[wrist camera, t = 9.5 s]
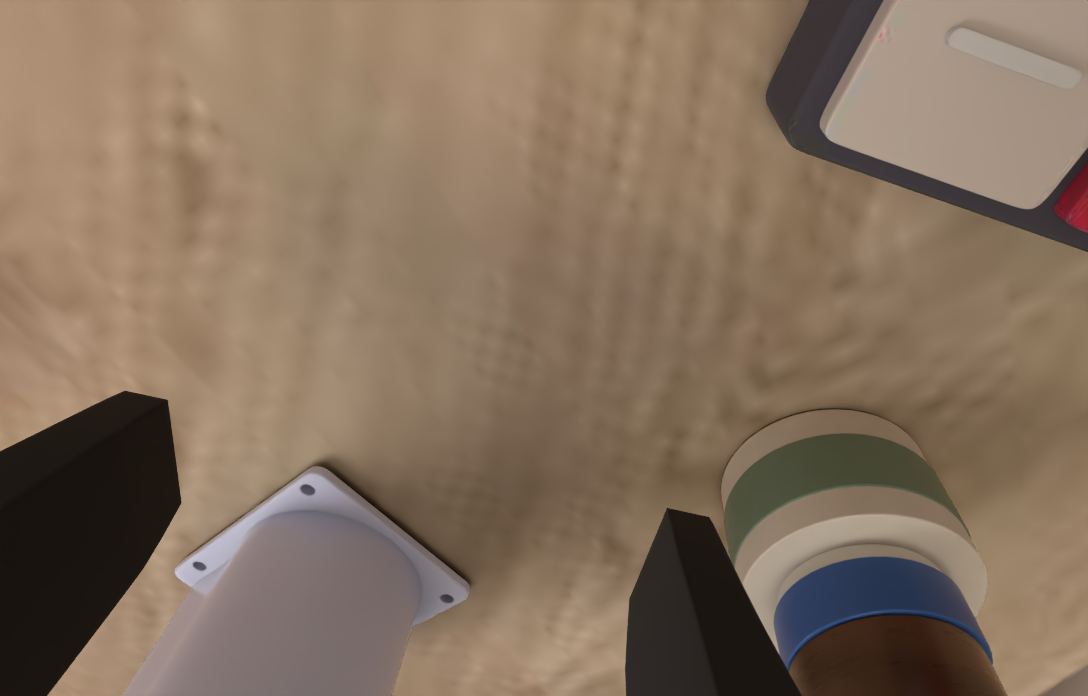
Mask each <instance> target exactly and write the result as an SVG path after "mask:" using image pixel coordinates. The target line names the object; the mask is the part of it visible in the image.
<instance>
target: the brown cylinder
mask: <svg viewBox="0 0 1088 696" xmlns="http://www.w3.org/2000/svg"><path fill="white" fill-rule="evenodd" d="M789 673H790V675H791V677H792V679H793V680H794V682H795V684H796V686H797V687H798V689H799V691H800V692H801V694H802V696H1007V694H1006V692H1005V690H1004V688H1003V686H1002V684H1001V682H1000V680H999V678H998V676H997V674H996V672H995V670H994V668H993V666H992V664H991V662H990V659H989V657H988V655H987V653H986V652H985V650H984V649H983V647H982V646H981V644H980V643H979V642H978V641H977V640H976V639H975V638H974V637H973V636H971V635H970V634H968V633H967V632H966V631H964V630H962V629H961V628H959V627H957V626H955V625H952V624H950V623H947V622H945V621H941V620H938V619H934V618H929V617H924V616H917V615H903V614H891V615H878V616H871V617H865V618H860V619H856V620H852V621H848V622H845V623H842V624H839V625H837V626H834V627H832V628H830V629H827V630H826V631H824V632H822V633H820V634H818V635H817V636H815V637H814V638H813V639H811V640H810V641H808V642H807V643H806V644H805V645H804V646H803V647H802V648H801V649H800V650H799V651H798V653H797V654H796V655H795V657H794V659H793V661H792V663H791V666H790V669H789Z"/></svg>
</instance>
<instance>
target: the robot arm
mask: <svg viewBox="0 0 1088 696" xmlns="http://www.w3.org/2000/svg"><path fill="white" fill-rule="evenodd" d="M308 485H310V486H312V487H310V486H308ZM180 505H181V496H180V488H179V481H178V473H177V466H176V458H175V451H174V443H173V436H172V429H171V421H170V414H169V406H168V400H165V399H161V398H156V397H152V396H147V395H142V394H138V393H133V392H128V391H123V392H121V393H119V394H117V395H114V396H112V397H110V398H108V399H106V400H104V401H101V402H99V403H97V404H95V405H93V406H91V407H89V408H87V409H85V410H83V411H81V412H79V413H77V414H75V415H73V416H71V417H69V418H67V419H65V420H63V421H61V422H59V423H57V424H55V425H53V426H51V427H49V428H47V429H45V430H43V431H41V432H39V433H37V434H35V435H33V436H31V437H29V438H27V439H25V440H23V441H21V442H18V443H16V444H14V445H12V446H10V447H8V448H6V449H4V450H2V451H0V696H47V695H48V694H49V692H50V691H51V690H52V689H53V687H54V686H55V685H56V683H57V682H58V681H59V679H60V678H61V677H62V675H63V674H64V673H65V671H66V670H67V669H68V668H69V666H70V665H71V664H72V662H73V661H74V660H75V658H76V657H77V656H78V654H79V653H80V652H81V651H82V649H83V648H84V647H85V645H86V644H87V643H88V641H89V640H90V639H91V637H92V636H93V635H94V634H95V632H96V631H97V630H98V628H99V627H100V626H101V624H102V623H103V622H104V620H105V619H106V618H107V616H108V615H109V614H110V612H111V611H112V610H113V608H114V607H115V606H116V604H117V603H118V602H119V600H120V599H121V598H122V596H123V595H124V594H125V592H126V591H127V590H128V588H129V587H130V586H131V585H132V583H133V582H134V580H135V579H136V578H137V576H138V575H139V574H140V572H141V571H142V570H143V568H144V567H145V565H146V563H147V562H148V560H149V558H150V557H151V555H152V553H153V552H154V550H155V548H156V547H157V545H158V543H159V542H160V540H161V538H162V537H163V535H164V533H165V531H166V530H167V528H168V526H169V524H170V522H171V521H172V519H173V517H174V515H175V513H176V512H177V510H178V508H179V506H180ZM175 575H176V576H177V578H178V579H180V580H181V581H182V582H184V583H185V584H187V585H188V586H190V587H191V588H192V589H191V590H190V592H189V593H188V595H187V596H186V598H185V599H184V601H183V602H182V604H181V606H180V607H179V609H178V610H177V612H176V613H175V615H174V616H173V618H172V619H171V621H170V622H169V624H168V625H167V627H166V629H165V630H164V632H163V633H162V635H161V636H160V638H159V639H158V641H157V642H156V644H155V645H154V647H153V648H152V650H151V652H150V653H149V655H148V656H147V658H146V659H145V661H144V662H143V664H142V665H141V667H140V668H139V670H138V671H137V673H136V675H135V676H134V678H133V679H132V681H131V682H130V684H129V685H128V687H127V688H126V690H125V691H124V693H123V694H122V696H392V692H393V689H394V686H395V682H396V679H397V676H398V672H399V669H400V666H401V662H402V659H403V656H404V653H405V649H406V646H407V643H408V639H409V636H410V633H411V629H412V627H414V626H416V625H418V624H420V623H422V622H424V621H426V620H428V619H430V618H431V617H433V616H435V615H437V614H439V613H441V612H443V611H445V610H447V609H449V608H451V607H453V606H455V605H457V604H459V603H461V602H462V601H464V600H466V599H467V598H468V596H469V592H470V585H469V584H468V583H467V582H466V581H465V580H464V579H463V578H461V577H460V576H459V575H458V574H456V573H455V572H454V571H453V570H452V569H450V568H449V567H448V566H447V565H445V564H444V563H443V562H442V561H440V560H439V559H438V558H437V557H435V556H434V555H433V554H432V553H430V552H429V551H428V550H427V549H426V548H424V547H423V546H422V545H421V544H419V543H418V542H417V541H416V540H414V539H413V538H412V537H411V536H409V535H408V534H407V533H406V532H404V531H403V530H402V529H401V528H399V527H398V526H397V525H396V524H395V523H393V522H392V521H391V520H390V519H388V518H387V517H386V516H385V515H383V514H382V513H381V512H380V511H378V510H377V509H376V508H375V507H373V506H372V505H371V504H370V503H369V502H367V501H366V500H365V499H364V498H362V497H361V496H360V495H359V494H357V493H356V492H355V491H354V490H352V489H351V488H350V487H349V486H347V485H346V484H345V483H344V482H343V481H341V480H340V479H339V478H338V477H336V476H335V475H334V474H333V473H331V472H330V471H329V470H327V469H326V468H323V467H320V466H314V467H311V468H309V469H308V470H306V471H305V472H304V473H302V474H301V475H299V476H298V477H297V478H295V479H294V480H293V481H291V482H290V483H288V484H287V485H286V486H284V487H283V488H281V489H280V490H279V491H277V492H276V493H275V494H273V495H272V496H270V497H269V498H268V499H266V500H265V501H264V502H262V503H261V504H259V505H258V506H257V507H255V508H254V509H253V510H251V511H250V512H248V513H247V514H246V515H244V516H243V517H242V518H240V519H239V520H237V521H236V522H235V523H233V524H232V525H231V526H229V527H228V528H226V529H225V530H224V531H222V532H221V533H220V534H218V535H217V536H215V537H214V538H213V539H211V540H210V541H209V542H207V543H206V544H204V545H203V546H202V547H200V548H199V549H198V550H196V551H195V552H193V553H192V554H191V555H189V556H188V557H186V558H185V559H184V560H182V561H181V562H180V563H179V565H178V566H177V568H176V569H175ZM625 674H626V696H802V694H801V692H800V691H799V689H798V687H797V686H796V684H795V682H794V680H793V679H792V677H791V675H790V673H789V671H788V670H787V668H786V666H785V664H784V662H783V660H782V659H781V657H780V655H779V653H778V651H777V649H776V648H775V646H774V644H773V642H772V640H771V639H770V637H769V635H768V633H767V631H766V629H765V627H764V626H763V624H762V622H761V620H760V618H759V616H758V614H757V612H756V610H755V608H754V606H753V604H752V602H751V600H750V598H749V596H748V594H747V592H746V590H745V588H744V586H743V584H742V582H741V580H740V578H739V576H738V574H737V572H736V570H735V568H734V566H733V564H732V562H731V560H730V558H729V556H728V554H727V552H726V550H725V548H724V545H723V543H722V541H721V539H720V537H719V535H718V533H717V531H716V529H715V527H714V525H713V523H712V521H711V520H710V518H709V517H706V516H701V515H697V514H692V513H688V512H683V511H678V510H674V509H669V508H667V510H666V512H665V514H664V517H663V519H662V522H661V524H660V527H659V529H658V531H657V534H656V536H655V539H654V541H653V543H652V546H651V548H650V551H649V553H648V555H647V558H646V560H645V563H644V565H643V568H642V570H641V572H640V575H639V577H638V580H637V582H636V584H635V587H634V589H633V592H632V594H631V596H630V601H629V615H628V629H627V646H626V665H625Z"/></svg>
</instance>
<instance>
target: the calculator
mask: <svg viewBox="0 0 1088 696" xmlns="http://www.w3.org/2000/svg"><path fill="white" fill-rule="evenodd" d="M766 101H767V105H768V107H769V109H770V111H771V113H772V114H773V116H774V118H775V120H776V122H777V123H778V125H779V127H780V129H781V131H782V132H783V134H784V136H785V137H786V139H787V140H788V142H789V143H790V145H791V146H792V147H794V148H795V149H797V150H799V151H801V152H804V153H806V154H809V155H812V156H815V157H818V158H821V159H824V160H826V161H829V162H832V163H835V164H838V165H841V166H844V167H846V168H849V169H852V170H855V171H858V172H861V173H864V174H866V175H869V176H872V177H875V178H878V179H881V180H884V181H886V182H889V183H892V184H895V185H898V186H901V187H904V188H907V189H909V190H912V191H915V192H918V193H921V194H924V195H927V196H929V197H932V198H935V199H938V200H941V201H944V202H947V203H949V204H952V205H955V206H958V207H961V208H964V209H967V210H969V211H972V212H975V213H978V214H981V215H984V216H987V217H989V218H992V219H995V220H998V221H1001V222H1004V223H1007V224H1009V225H1012V226H1015V227H1018V228H1021V229H1024V230H1027V231H1029V232H1032V233H1035V234H1038V235H1041V236H1044V237H1047V238H1049V239H1052V240H1055V241H1058V242H1061V243H1064V244H1067V245H1069V246H1072V247H1075V248H1078V249H1081V250H1084V251H1087V252H1088V0H810V2H809V4H808V6H807V8H806V10H805V12H804V14H803V17H802V19H801V21H800V23H799V25H798V27H797V29H796V31H795V33H794V35H793V37H792V39H791V41H790V43H789V45H788V48H787V50H786V52H785V54H784V56H783V58H782V60H781V62H780V64H779V66H778V68H777V70H776V72H775V75H774V77H773V79H772V81H771V83H770V85H769V88H768V90H767V94H766Z"/></svg>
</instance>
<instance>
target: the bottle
mask: <svg viewBox="0 0 1088 696" xmlns="http://www.w3.org/2000/svg"><path fill="white" fill-rule="evenodd" d="M721 497H722V503H723V509H724V524H725V530H726V536H727V542H728V548H729V554H730V560H731V562H732V564H733V566H734V568H735V570H736V572H737V574H738V576H739V578H740V580H741V582H742V584H743V586H744V588H745V590H746V592H747V594H748V596H749V598H750V600H751V602H752V604H753V606H754V608H755V610H756V612H757V614H758V616H759V618H760V620H761V622H762V624H763V626H764V627H765V629H766V631H767V633H768V635H769V637H770V639H771V640H772V642H773V644H774V646H775V648H776V649H777V651H778V653H779V654H780V657H781V659H782V660H783V662H784V664H785V666H786V668H787V670H788V671H789V669H790V666H791V663H792V661H793V659H794V657H795V655H796V654H797V653H798V651H799V650H800V649H801V648H802V647H803V646H804V645H805V644H806V643H807V642H808V641H810V640H811V639H813V638H814V637H815V636H817V635H818V634H820V633H822V632H824V631H826V630H827V629H830V628H832V627H834V626H837V625H839V624H842V623H845V622H848V621H852V620H856V619H860V618H865V617H871V616H878V615H891V614H903V615H917V616H924V617H929V618H934V619H938V620H941V621H945V622H947V623H950V624H952V625H955V626H957V627H959V628H961V629H962V630H964V631H966V632H967V633H968V634H970V635H971V636H973V637H974V638H975V639H976V640H977V641H978V642H979V643H980V644H981V646H982V647H983V649H984V650H985V652H986V653H987V655H988V657H989V659H990V662H991V664H992V665H993V659H992V653H991V650H990V647H989V645H988V643H987V641H986V639H985V637H984V635H983V633H982V631H981V629H980V627H979V625H978V623H977V621H976V619H975V617H976V616H977V615H978V613H979V611H980V609H981V608H982V606H983V604H984V601H985V598H986V595H987V588H988V577H987V570H986V567H985V565H984V562H983V560H982V558H981V556H980V554H979V553H978V551H977V549H976V547H975V546H974V544H973V542H972V540H971V537H970V534H969V531H968V529H967V527H966V526H965V524H964V522H963V520H962V519H961V517H960V515H959V513H958V512H957V510H956V508H955V506H954V505H953V503H952V501H951V499H950V498H949V496H948V494H947V492H946V491H945V489H944V487H943V485H942V484H941V482H940V480H939V478H938V477H937V475H936V473H935V472H934V470H933V469H932V468H931V466H930V465H929V464H928V463H927V461H926V459H925V457H924V456H923V454H922V452H921V450H920V449H919V447H918V445H917V444H916V442H915V441H914V440H913V439H912V438H911V437H910V436H909V435H908V434H907V433H906V432H905V431H903V430H902V429H901V428H900V427H898V426H896V425H895V424H893V423H891V422H889V421H887V420H885V419H883V418H880V417H878V416H875V415H871V414H868V413H864V412H859V411H853V410H840V409H832V410H818V411H810V412H805V413H801V414H797V415H793V416H790V417H787V418H784V419H782V420H779V421H777V422H775V423H773V424H771V425H769V426H767V427H765V428H764V429H762V430H760V431H758V432H757V433H756V434H754V435H753V436H752V437H750V438H749V439H748V440H747V441H746V442H745V443H744V444H743V445H742V446H741V447H740V448H739V449H738V450H737V451H736V453H735V454H734V455H733V456H732V458H731V460H730V461H729V463H728V465H727V467H726V470H725V472H724V475H723V479H722V484H721Z"/></svg>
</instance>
